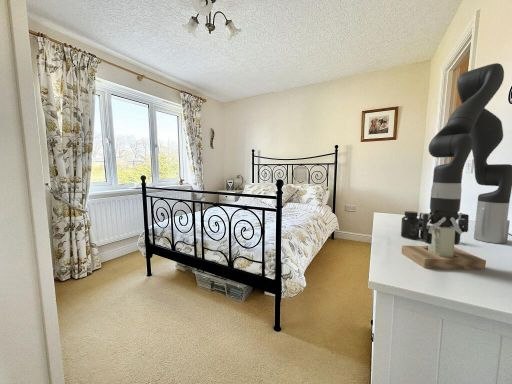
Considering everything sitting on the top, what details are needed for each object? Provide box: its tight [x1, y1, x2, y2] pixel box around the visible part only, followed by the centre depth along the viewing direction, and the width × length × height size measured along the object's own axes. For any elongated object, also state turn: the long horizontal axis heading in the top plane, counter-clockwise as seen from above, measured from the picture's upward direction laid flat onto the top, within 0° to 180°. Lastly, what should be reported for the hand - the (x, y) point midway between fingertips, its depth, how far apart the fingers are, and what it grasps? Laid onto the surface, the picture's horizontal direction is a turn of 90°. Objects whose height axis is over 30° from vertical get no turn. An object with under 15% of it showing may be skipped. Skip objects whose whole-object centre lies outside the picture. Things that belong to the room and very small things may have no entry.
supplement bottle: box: [400, 210, 420, 240], centre depth 98 cm, size 7×7×12 cm
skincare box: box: [427, 226, 455, 257], centre depth 72 cm, size 6×4×12 cm
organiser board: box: [401, 245, 487, 271], centre depth 73 cm, size 18×12×3 cm, turn 86°
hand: (441, 243), depth 72 cm, fingers open, 8 cm apart
